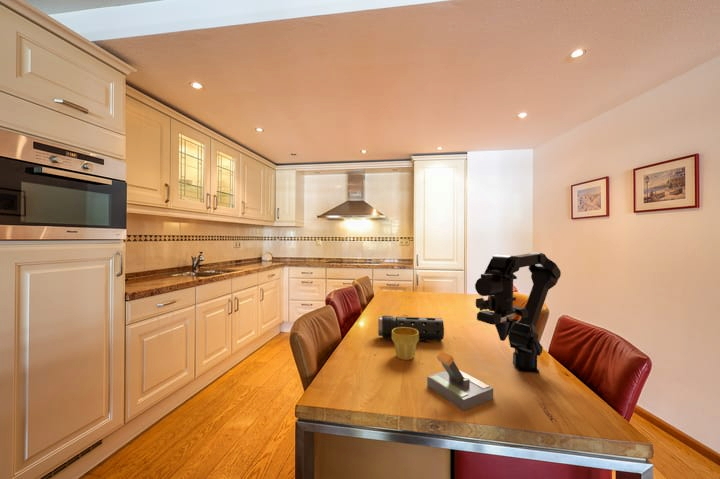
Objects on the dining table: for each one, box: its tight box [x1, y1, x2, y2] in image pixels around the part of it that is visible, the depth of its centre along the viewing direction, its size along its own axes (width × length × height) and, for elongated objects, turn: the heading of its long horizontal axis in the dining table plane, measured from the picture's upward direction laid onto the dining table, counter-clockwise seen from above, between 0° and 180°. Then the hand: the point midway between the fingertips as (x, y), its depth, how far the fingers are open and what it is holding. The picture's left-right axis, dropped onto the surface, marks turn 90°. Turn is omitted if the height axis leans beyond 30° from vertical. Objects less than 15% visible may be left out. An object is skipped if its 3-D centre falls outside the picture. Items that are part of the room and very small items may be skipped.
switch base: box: [426, 369, 494, 412], centre depth 84 cm, size 12×14×5 cm
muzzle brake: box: [377, 315, 445, 342], centre depth 126 cm, size 10×28×10 cm, turn 84°
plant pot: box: [391, 327, 420, 361], centre depth 108 cm, size 10×10×10 cm
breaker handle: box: [436, 350, 464, 385], centre depth 82 cm, size 2×4×11 cm
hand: (502, 340), depth 93 cm, fingers closed
